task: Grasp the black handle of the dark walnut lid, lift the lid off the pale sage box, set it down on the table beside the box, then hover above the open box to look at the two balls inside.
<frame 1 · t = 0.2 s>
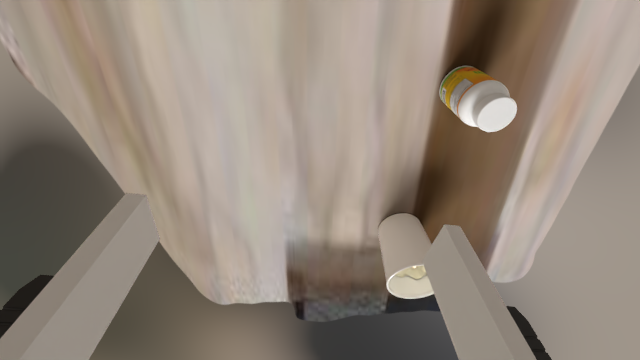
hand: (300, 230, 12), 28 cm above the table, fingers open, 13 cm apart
candle holder: (398, 227, 53), on the table
supplement bottle: (458, 85, 37), on the table
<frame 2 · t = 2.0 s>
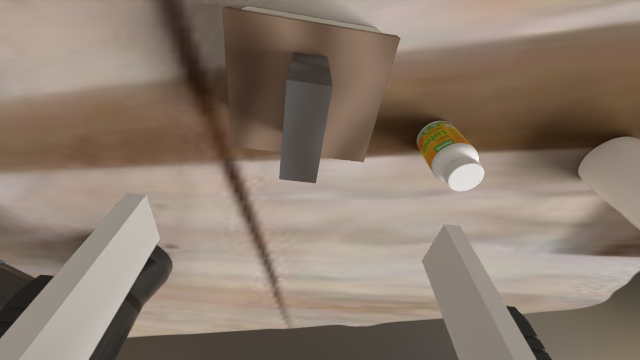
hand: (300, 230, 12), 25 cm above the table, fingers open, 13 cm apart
sage box: (307, 74, 33), on the table
candle holder: (606, 159, 41), on the table
walnut lid: (305, 94, 27), point 7 cm above the table, touching sage box
supplement bottle: (434, 136, 38), on the table
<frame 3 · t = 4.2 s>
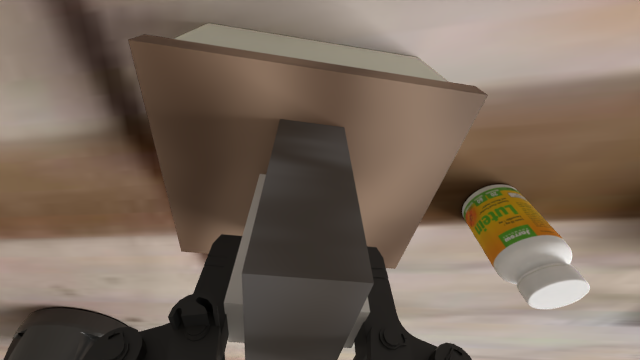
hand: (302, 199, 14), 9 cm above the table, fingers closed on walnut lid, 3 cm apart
sage box: (306, 124, 21), on the table
walnut lid: (303, 176, 16), point 7 cm above the table, touching gripper, sage box
supplement bottle: (487, 202, 27), on the table
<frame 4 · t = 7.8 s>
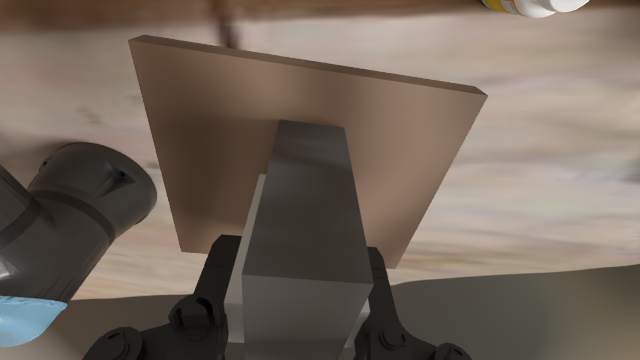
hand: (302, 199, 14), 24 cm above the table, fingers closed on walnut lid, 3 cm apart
walnut lid: (303, 176, 16), point 22 cm above the table, touching gripper
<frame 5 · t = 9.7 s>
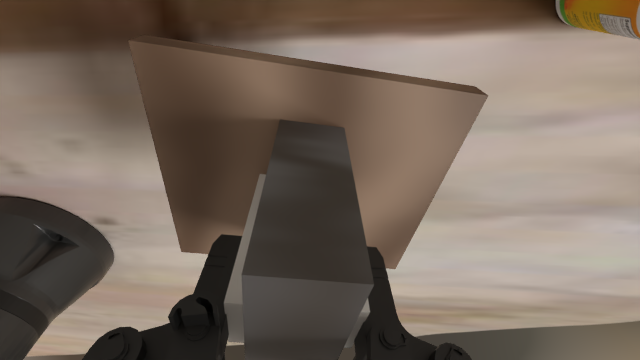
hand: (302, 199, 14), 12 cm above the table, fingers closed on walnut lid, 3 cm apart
walnut lid: (303, 176, 16), point 10 cm above the table, touching gripper
when the fingers open (5 cm above the table, at t = 11.4 s): walnut lid drops 2 cm, point 1 cm above the table.
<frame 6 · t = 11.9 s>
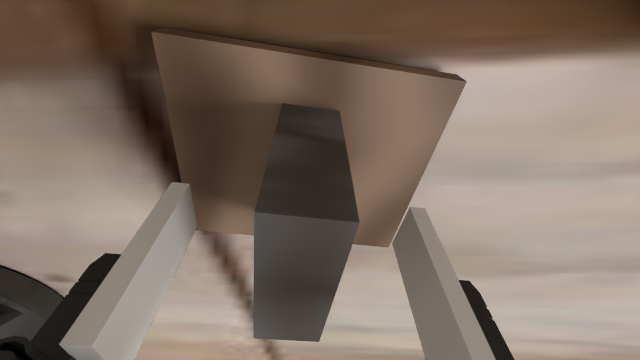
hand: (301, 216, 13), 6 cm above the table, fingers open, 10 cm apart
walnut lid: (303, 158, 17), point 1 cm above the table
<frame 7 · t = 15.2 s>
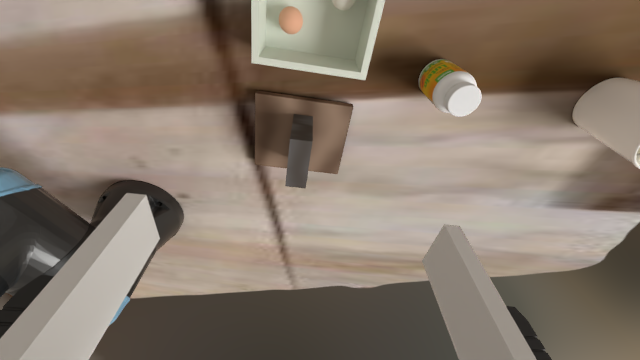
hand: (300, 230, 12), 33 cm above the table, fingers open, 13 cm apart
sage box: (316, 8, 35), on the table
candle holder: (599, 102, 43), on the table
walnut lid: (300, 134, 45), point 1 cm above the table
supplement bottle: (435, 77, 41), on the table
terracotta ball: (290, 20, 33), point 2 cm above the table, touching sage box
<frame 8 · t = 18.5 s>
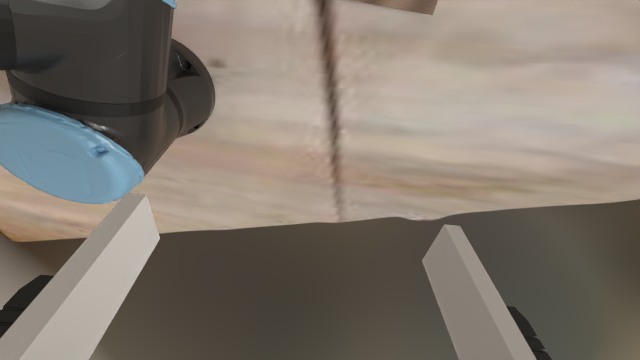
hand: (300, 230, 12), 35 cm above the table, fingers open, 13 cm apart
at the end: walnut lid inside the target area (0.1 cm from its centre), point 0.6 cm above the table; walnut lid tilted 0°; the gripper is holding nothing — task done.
